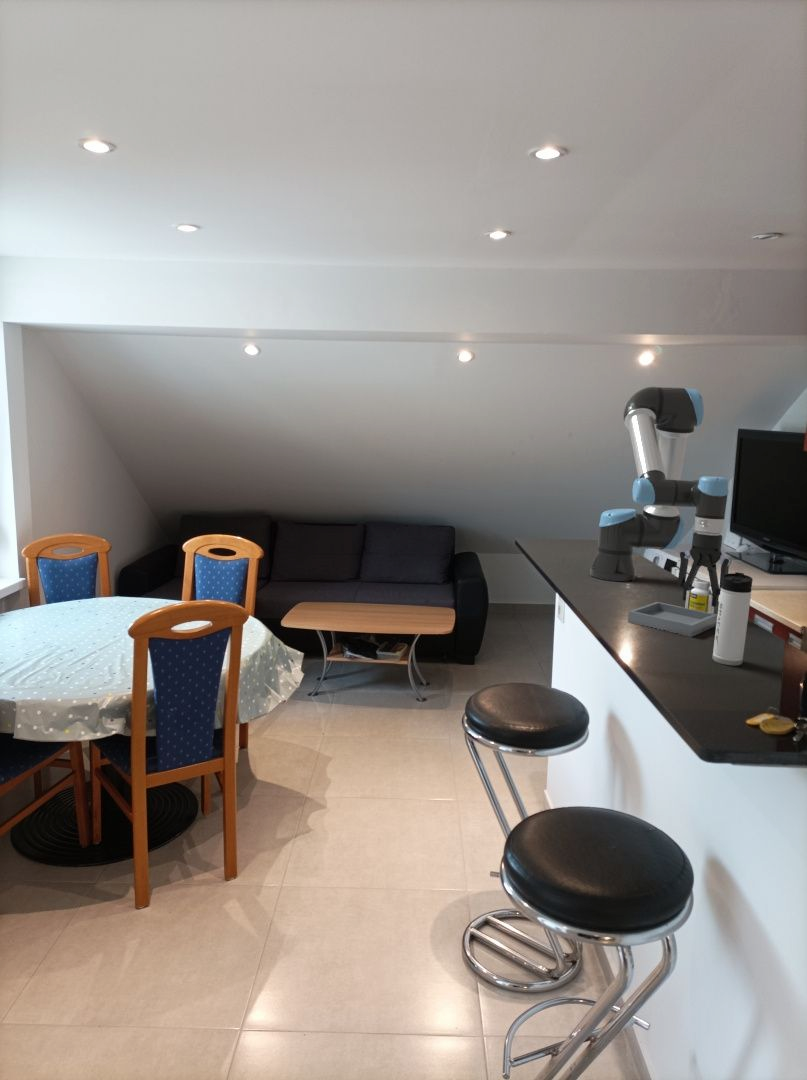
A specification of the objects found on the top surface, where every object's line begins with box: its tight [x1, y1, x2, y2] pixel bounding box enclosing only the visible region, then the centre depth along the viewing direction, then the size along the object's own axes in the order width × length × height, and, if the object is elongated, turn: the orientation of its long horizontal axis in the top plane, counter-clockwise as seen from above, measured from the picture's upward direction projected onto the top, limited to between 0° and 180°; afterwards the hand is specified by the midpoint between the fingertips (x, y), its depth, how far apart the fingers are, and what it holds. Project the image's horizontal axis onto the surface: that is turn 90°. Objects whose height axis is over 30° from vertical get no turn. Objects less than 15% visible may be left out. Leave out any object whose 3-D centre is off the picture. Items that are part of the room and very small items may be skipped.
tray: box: [627, 601, 718, 638], centre depth 199 cm, size 17×17×3 cm
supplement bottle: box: [689, 579, 712, 612], centre depth 209 cm, size 5×5×10 cm
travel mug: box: [712, 571, 753, 667], centre depth 168 cm, size 6×7×20 cm
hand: (698, 614), depth 209 cm, fingers open, 5 cm apart
